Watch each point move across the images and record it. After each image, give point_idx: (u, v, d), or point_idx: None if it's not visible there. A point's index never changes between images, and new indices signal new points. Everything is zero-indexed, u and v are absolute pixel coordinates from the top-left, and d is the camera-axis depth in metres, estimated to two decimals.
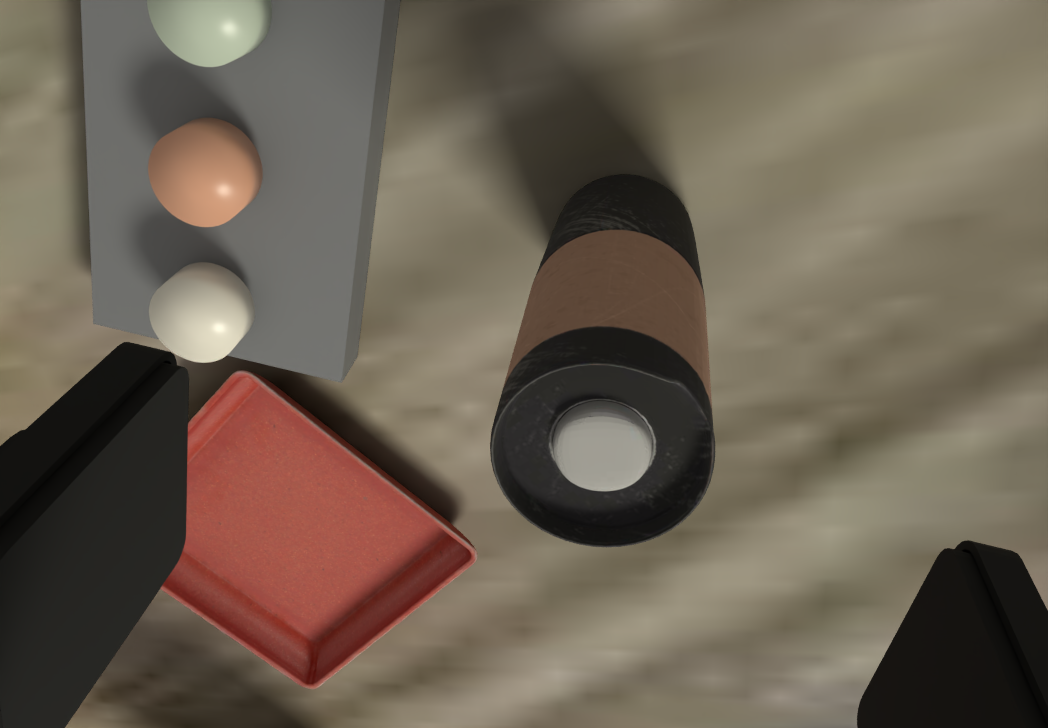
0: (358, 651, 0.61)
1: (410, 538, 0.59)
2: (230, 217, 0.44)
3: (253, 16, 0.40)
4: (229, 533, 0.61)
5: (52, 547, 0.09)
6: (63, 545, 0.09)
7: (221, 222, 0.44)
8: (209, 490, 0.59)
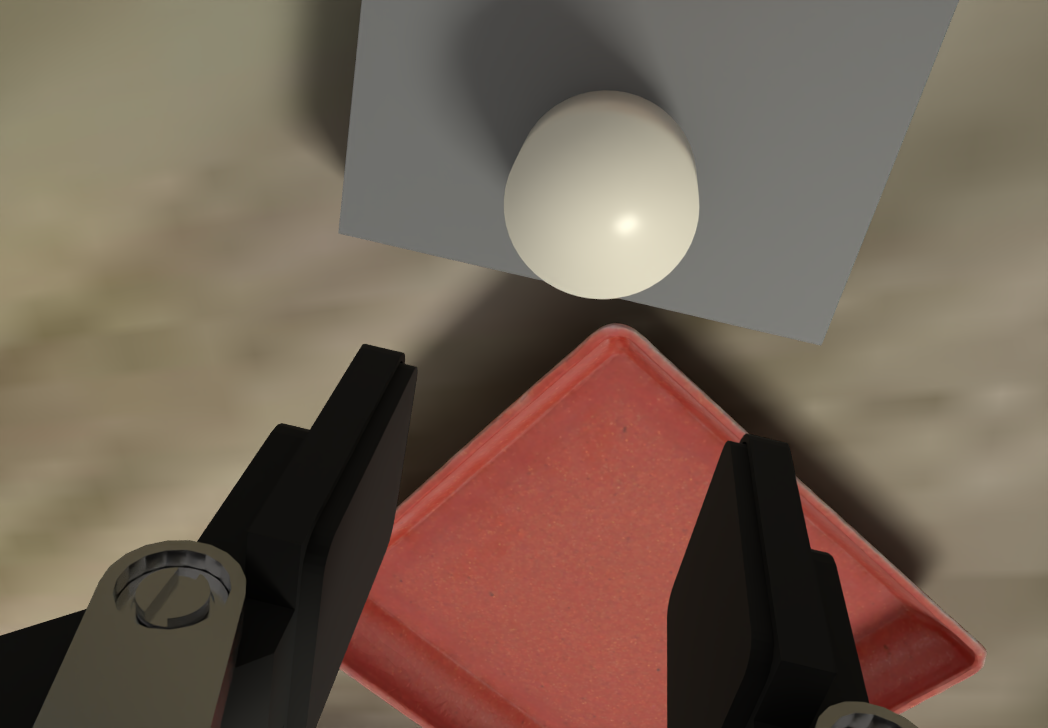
0: None
1: None
2: None
3: None
4: (504, 610, 0.36)
5: (350, 528, 0.10)
6: (354, 527, 0.10)
7: None
8: (482, 539, 0.35)
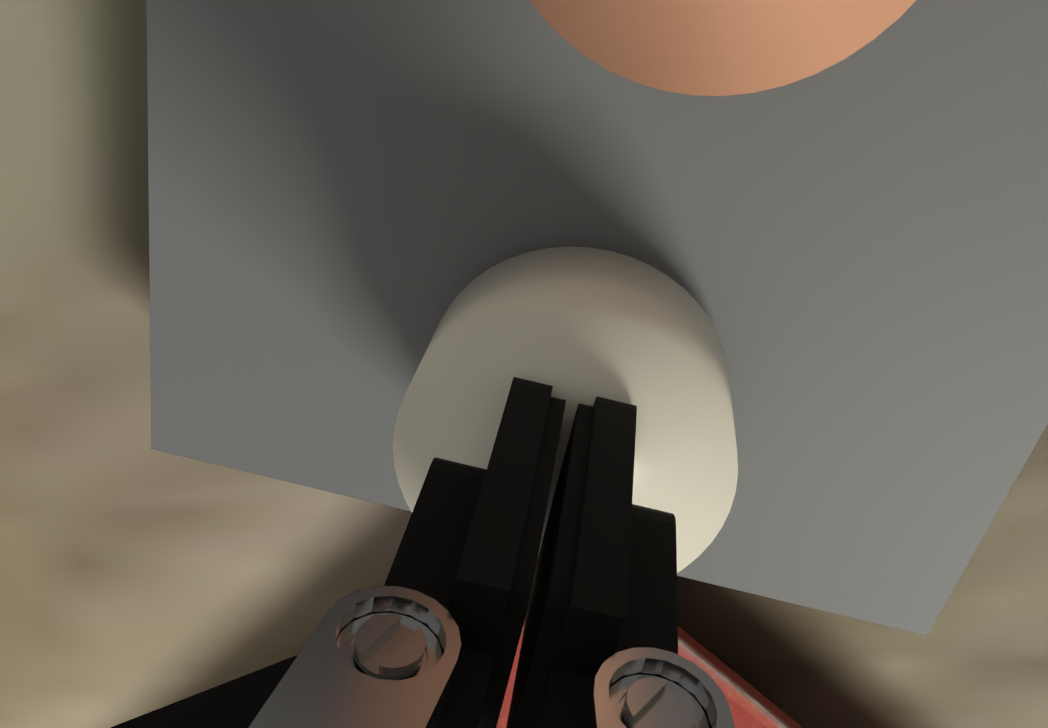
0: None
1: None
2: (855, 43, 0.09)
3: None
4: None
5: None
6: None
7: (800, 70, 0.09)
8: None
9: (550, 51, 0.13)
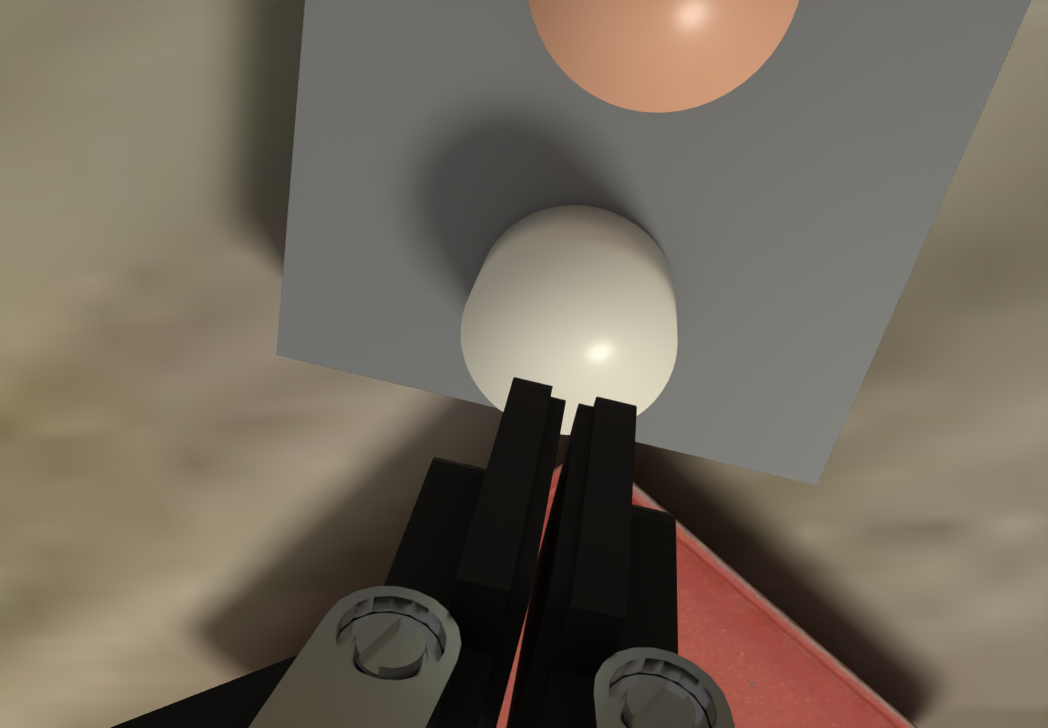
0: None
1: None
2: (734, 84, 0.16)
3: None
4: None
5: None
6: None
7: (704, 98, 0.17)
8: None
9: (560, 83, 0.20)
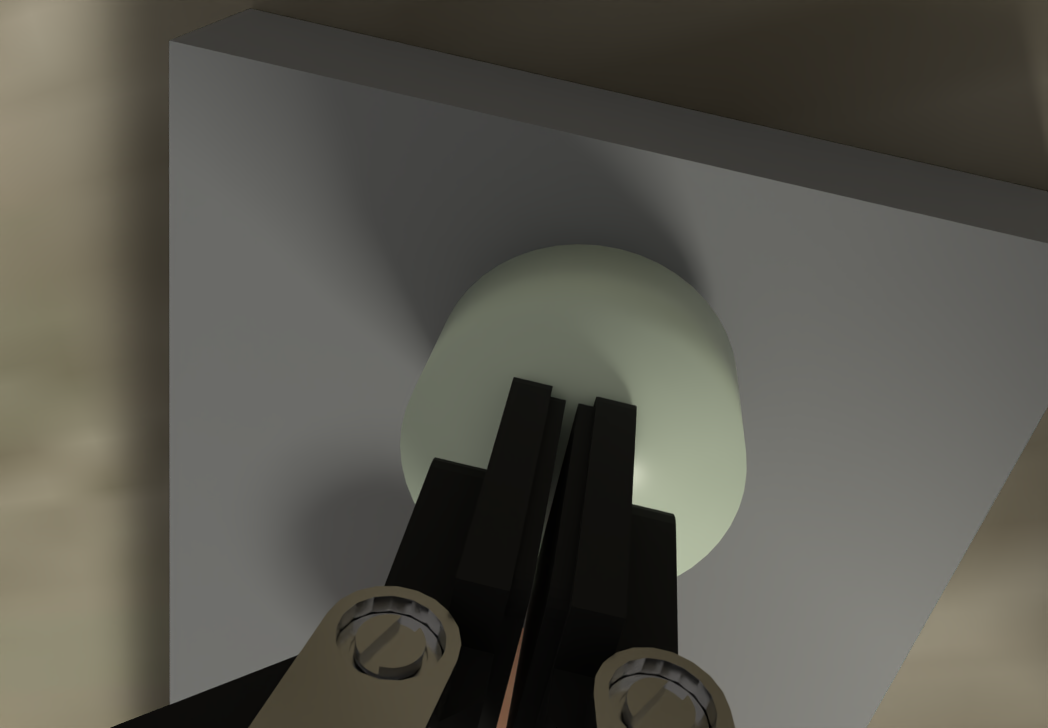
0: None
1: None
2: None
3: (742, 488, 0.12)
4: None
5: None
6: None
7: None
8: None
9: None
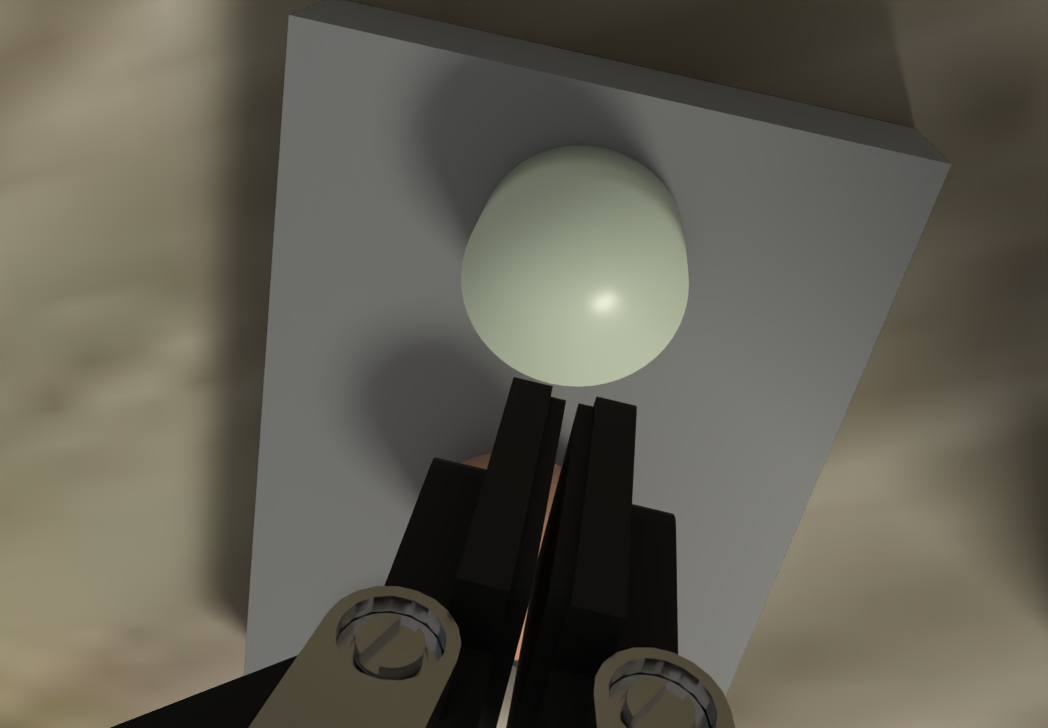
0: None
1: None
2: None
3: (687, 298, 0.19)
4: None
5: None
6: None
7: None
8: None
9: None
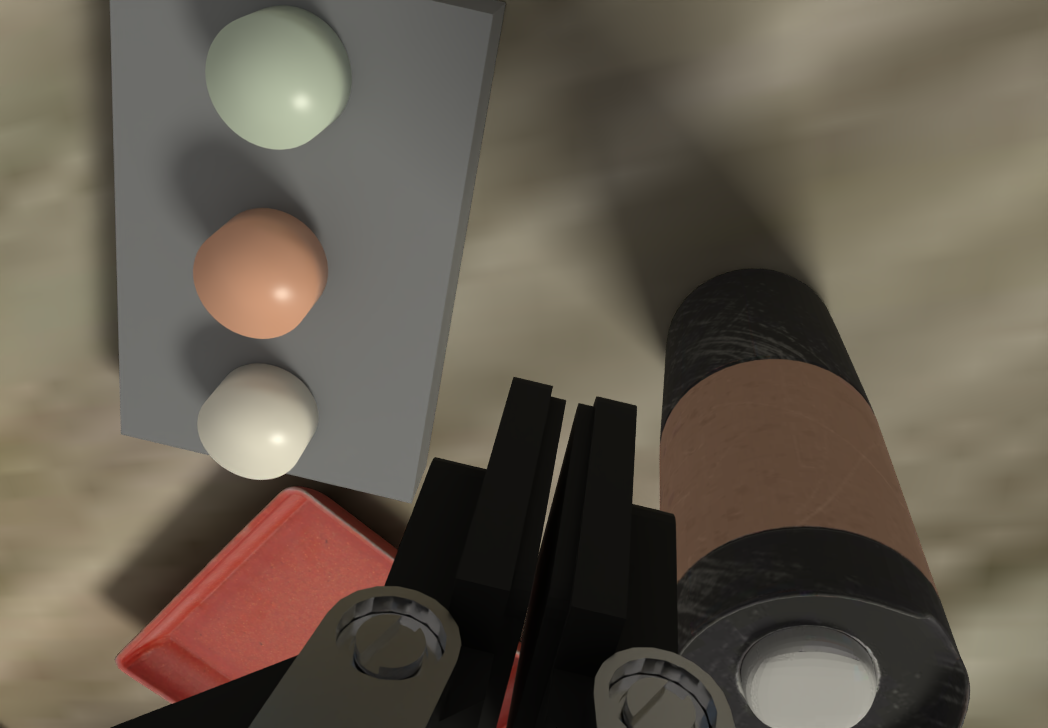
0: None
1: None
2: (291, 328, 0.37)
3: (334, 90, 0.33)
4: (271, 654, 0.53)
5: None
6: None
7: (280, 333, 0.37)
8: (249, 608, 0.52)
9: None
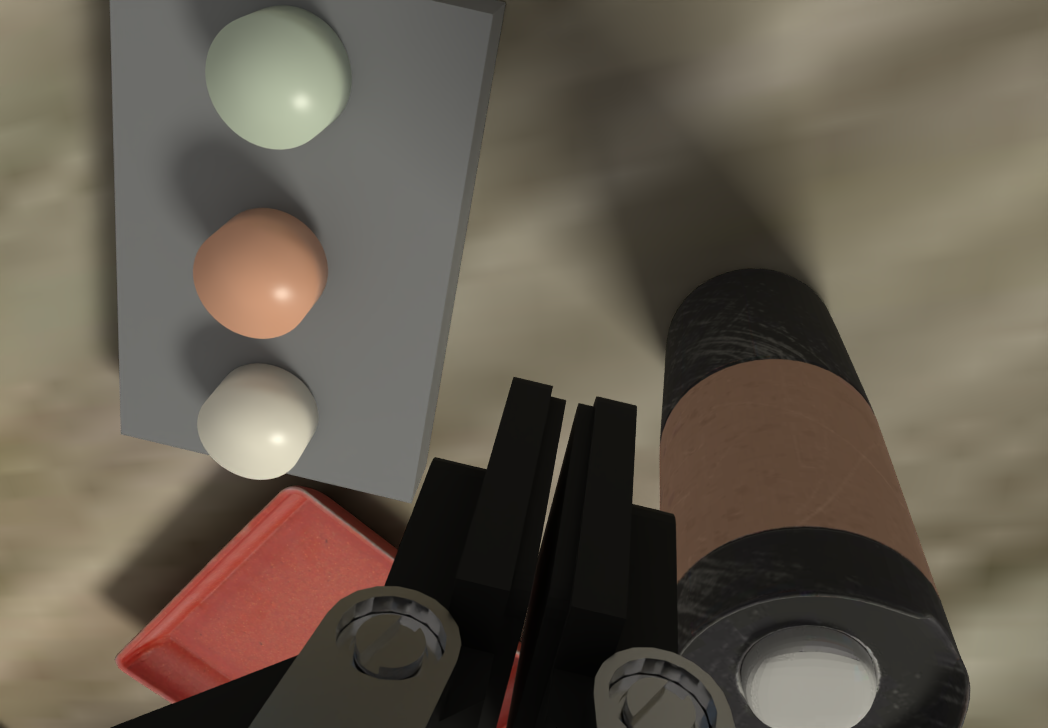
0: None
1: None
2: (291, 328, 0.37)
3: (334, 90, 0.33)
4: (271, 654, 0.53)
5: None
6: None
7: (280, 333, 0.37)
8: (249, 608, 0.52)
9: None
